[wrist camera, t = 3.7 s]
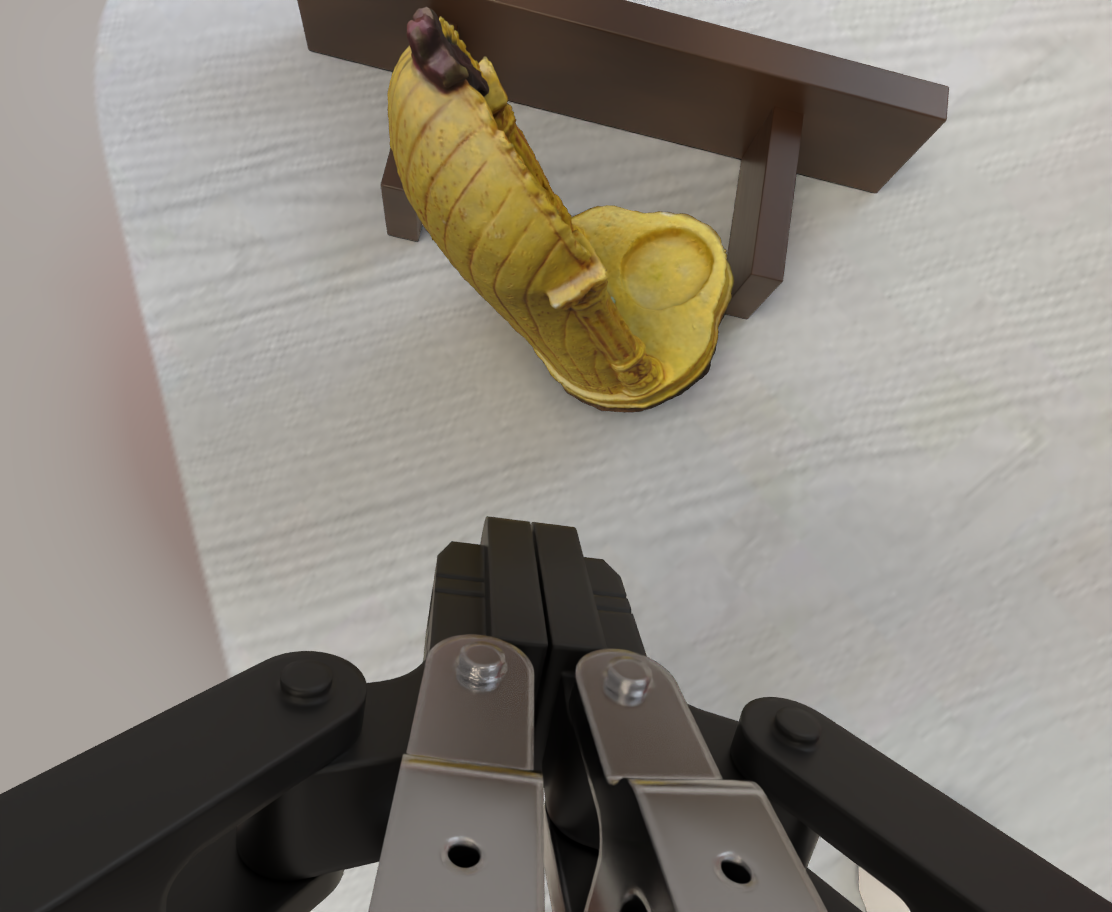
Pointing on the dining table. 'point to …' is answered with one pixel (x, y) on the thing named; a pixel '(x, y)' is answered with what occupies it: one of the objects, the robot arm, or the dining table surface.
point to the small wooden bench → (669, 100)
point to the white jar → (878, 895)
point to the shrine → (551, 238)
